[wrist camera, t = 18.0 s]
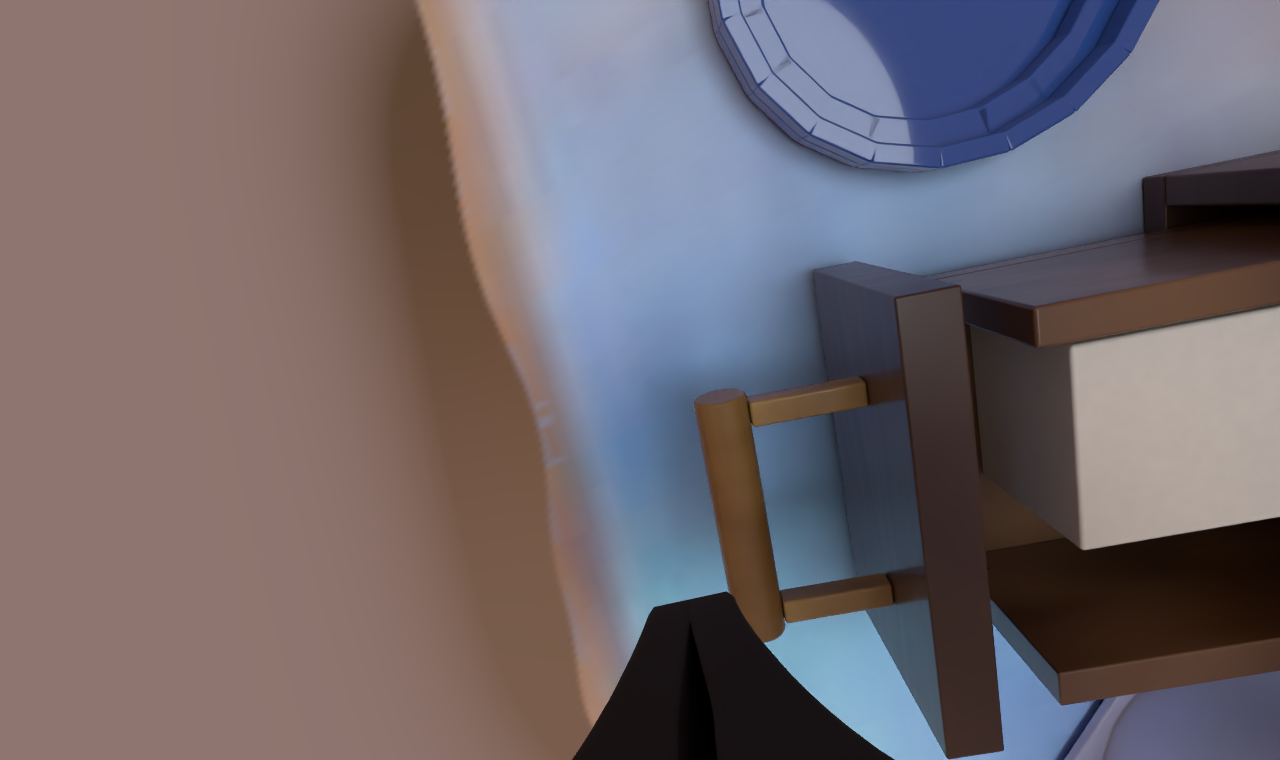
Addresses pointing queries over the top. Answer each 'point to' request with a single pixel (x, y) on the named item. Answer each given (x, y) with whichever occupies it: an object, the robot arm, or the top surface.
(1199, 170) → the cabinet
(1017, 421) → the block
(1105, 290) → the drawer
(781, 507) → the top surface
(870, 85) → the blue saucer
